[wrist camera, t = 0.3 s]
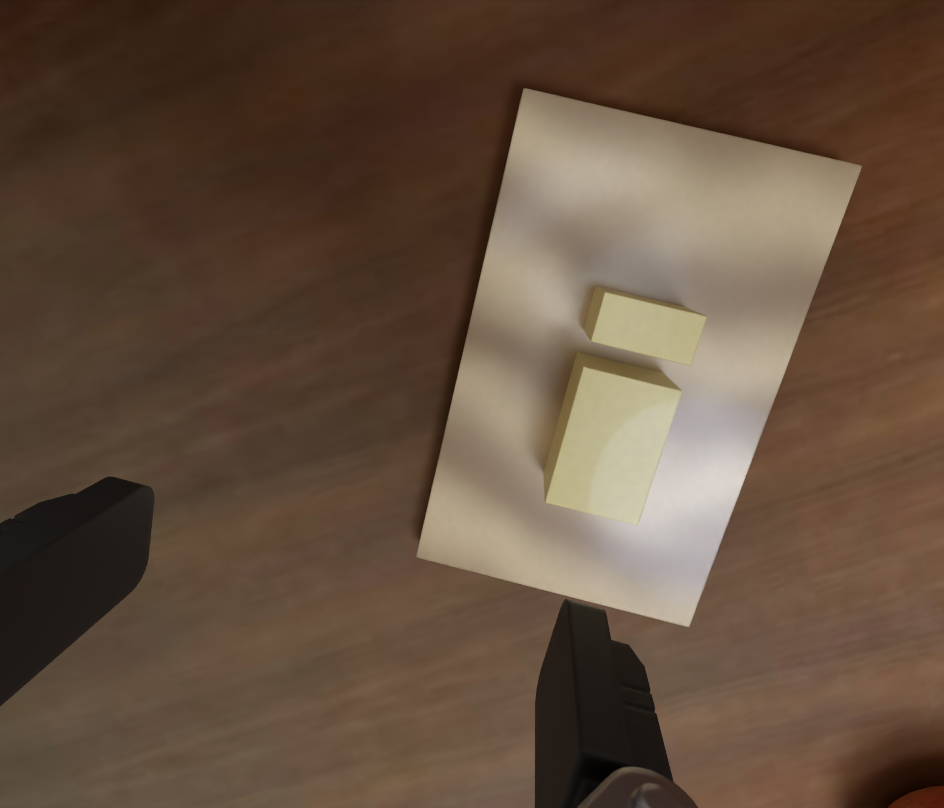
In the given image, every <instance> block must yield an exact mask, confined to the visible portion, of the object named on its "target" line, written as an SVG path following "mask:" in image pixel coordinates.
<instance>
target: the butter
mask: <svg viewBox="0 0 944 808" xmlns="http://www.w3.org/2000/svg"><path fill="white" fill-rule="evenodd" d="M681 394H682V390H681V389H680V388H679V387H678V386H677V385H676V384H675V383H674V382H673V381H672V380H671V379H670V378H669V377H667V376H666V375H665V374H664V373H662V372H658V371H654V370H650V369H646V368H641V367H637V366H633V365H629V364H625V363H621V362H617V361H613V360H609V359H605V358H600V357H596V356H592V355H588V354H584V353H580V352H577V354H576V358H575V361H574V365H573V368H572V372H571V376H570V379H569V383H568V386H567V390H566V393H565V397H564V401H563V404H562V408H561V411H560V415H559V418H558V422H557V426H556V429H555V433H554V436H553V440H552V444H551V447H550V451H549V454H548V458H547V461H546V465H545V469H544V472H543V476H544V496H545V503H548V504H552V505H556V506H560V507H564V508H568V509H572V510H576V511H580V512H584V513H588V514H592V515H596V516H600V517H604V518H608V519H612V520H616V521H620V522H624V523H628V524H632V525H636V526H638V523H639V520H640V517H641V514H642V511H643V508H644V505H645V502H646V499H647V496H648V493H649V490H650V487H651V484H652V481H653V478H654V475H655V472H656V469H657V466H658V463H659V460H660V457H661V454H662V451H663V448H664V445H665V442H666V439H667V436H668V433H669V430H670V427H671V424H672V421H673V418H674V415H675V412H676V409H677V406H678V403H679V400H680V397H681Z"/></svg>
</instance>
